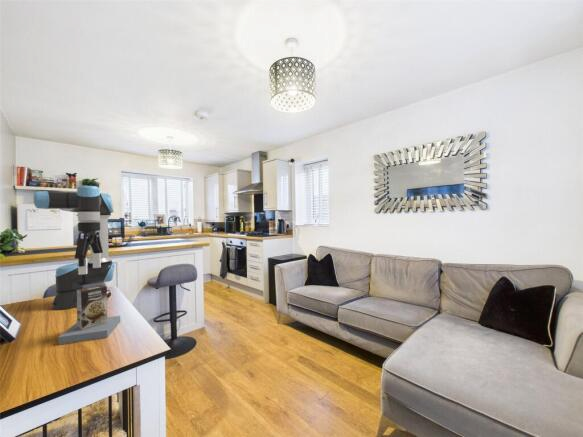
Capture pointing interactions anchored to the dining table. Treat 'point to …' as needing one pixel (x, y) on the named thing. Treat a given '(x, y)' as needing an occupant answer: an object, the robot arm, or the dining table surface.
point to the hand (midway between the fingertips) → (90, 270)
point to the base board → (89, 331)
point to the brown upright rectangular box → (91, 306)
